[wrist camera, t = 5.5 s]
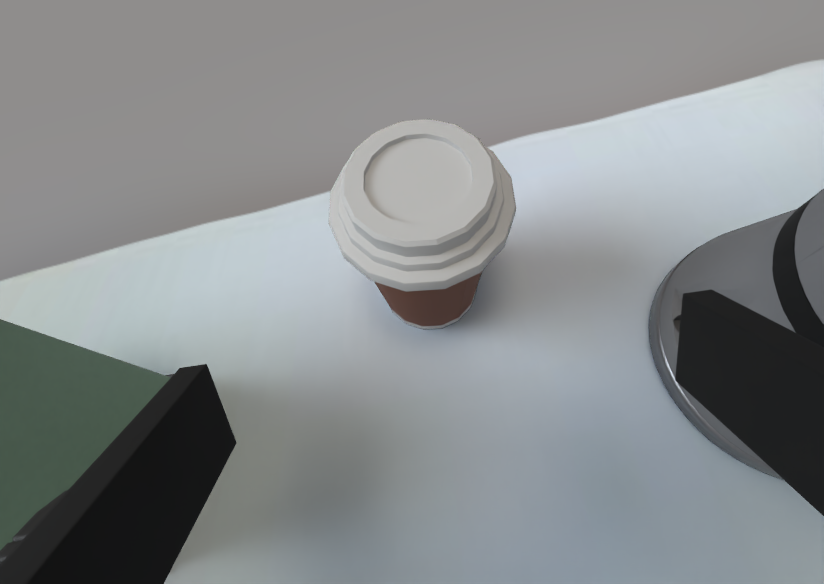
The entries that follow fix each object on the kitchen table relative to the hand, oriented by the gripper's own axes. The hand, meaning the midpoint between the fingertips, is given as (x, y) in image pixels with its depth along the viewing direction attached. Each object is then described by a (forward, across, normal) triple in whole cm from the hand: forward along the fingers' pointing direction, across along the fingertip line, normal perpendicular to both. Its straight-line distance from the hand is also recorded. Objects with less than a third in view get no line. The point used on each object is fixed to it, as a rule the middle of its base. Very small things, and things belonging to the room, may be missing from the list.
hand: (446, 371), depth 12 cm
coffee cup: (+18, 0, -4) cm, 18 cm away
